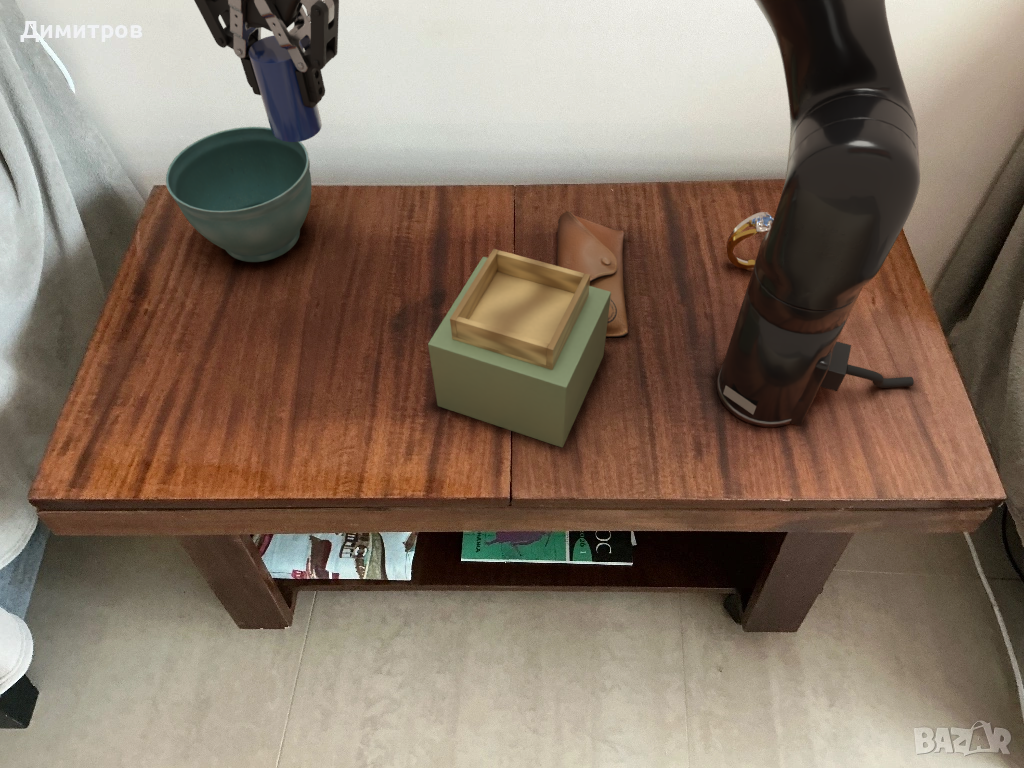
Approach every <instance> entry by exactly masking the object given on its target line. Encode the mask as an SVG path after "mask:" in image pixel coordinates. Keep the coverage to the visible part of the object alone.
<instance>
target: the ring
mask: <svg viewBox="0 0 1024 768" xmlns="http://www.w3.org/2000/svg"><path fill="white" fill-rule="evenodd" d="M773 219H774V217H773V215H771V214H770V213H769V212H767V211H760V212H757V213H754V214H752V215H750V216H749V217H747V218H746V219H743V220H742V221H741V222H740V223H738V225H737V226H735V228H734V229H733V230H732V231H731V233H730V235H728V238H727V241H726V255H727V258H728V260H729V262H730V264H732V265H734V266H736V267H737V268H740V269H743V270H747V271H748V272H752V271H753V268H754V265H755V262H756V259H748V260H744V259H741V258H740V257H739V258H738V257H737V256H736V255H735V253H734V249H735V248H736V246H737V245H738V244H740V243H741V242H742V241H744V240H746V239H748V238H750V237H752V236H755V235H757V234H759V233H763V234H764V233H767V232H768V231H769V230H770V228H771V225H772V222H773ZM747 227H749V228H751V229H747V230H745V229H746V228H747ZM752 227H754V228H752Z"/></svg>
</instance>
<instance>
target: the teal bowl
mask: <svg viewBox="0 0 1024 768" xmlns="http://www.w3.org/2000/svg"><path fill="white" fill-rule="evenodd" d="M310 162H311V161H310V157H309V152H308V150H307V148H306V146H305V145H304V143H303V142H302V141H300V142H285V141H281V140H279V139H277V138H276V137H275V136H274V135H273V134H272V131H271V127H265V126H241V127H233V128H229V129H224V130H220V131H217V132H214V133H211V134H209V135H206V136H204V137H202V138H200V139H197V140H196V141H194V142H192V143H190V144H189V145H187V146H186V147H185V148H184V149H182V150H181V151H180V152H179V153H178V154H177V155H175V157H174V158H173V159H172V161H171V163H170V164H169V166H168V169H167V171H166V175H165V185H166V189H167V190H168V192H169V195H170V196H171V197H172V199H173V200H174V202H175V203H176V204H177V206H178V207H179V209H180V211H181V213H182V214H183V216H184V218H185V219H186V220H187V221H188V223H189V224H190V225H191V226H192V227H193V228H194V229H195V230H196V231H197V232H198V233H199V234H200V235H201V236H203V237H204V239H206V240H208V241H209V242H210V243H212V244H213V245H215V246H217V247H219V248H220V249H223V250H225V252H226V254H228V255H229V256H231V257H232V258H234V259H236V260H238V261H242V262H246V263H260V262H267V261H270V260H271V261H272V260H274V259H277V258H278V257H281V256H283V255H284V254H286V253H287V252H289V251H291V249H292V248H293V247H294V246H295V245H296V244H297V242H298V240H299V238H300V236H301V235H300V234H301V228H302V227H303V225H304V223H305V222H306V219H307V216H308V213H309V210H310V206H311V202H312V201H311V200H312V189H313V188H312V187H313V185H312V176H311V175H312V174H311V170H310V169H311V168H310V167H311V165H310V164H311V163H310Z"/></svg>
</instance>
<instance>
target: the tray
mask: <svg viewBox="0 0 1024 768" xmlns="http://www.w3.org/2000/svg"><path fill="white" fill-rule="evenodd" d="M491 250H492V251H491V252H490V253H489V255H488V256H487V260H486V262H485V263H484V265H483V266H482V268H481V270H480V271H479V273H478V274H477V276H476V278H475V279H474V281H473V282H472V284H471V286H470V287H469V289H468V290H467V292H466V294H465V295H464V297H463V298H462V300H461V302H460V303H459V305H458V307H457V308H456V310H455V311H454V313H453V315H452V316H451V318H450V324H451V332H452V339H453V340H457V341H460V342H463V343H466V344H470V345H473V346H476V347H479V348H483V349H486V350H489V351H492V352H495V353H499V354H502V355H505V356H508V357H512V358H515V359H518V360H521V361H525V362H528V363H531V364H534V365H537V366H541V367H544V368H547V369H550V370H553V368H554V366H555V364H556V361H557V359H558V357H559V355H560V353H561V351H562V349H563V347H564V345H565V343H566V341H567V339H568V337H569V335H570V333H571V331H572V329H573V327H574V325H575V323H576V321H577V319H578V317H579V314H580V312H581V310H582V308H583V306H584V304H585V302H586V300H587V298H588V296H589V285H590V275H588V274H584V273H581V272H577V271H573V270H570V269H566V268H562V267H559V266H557V265H555V264H551V263H547V262H544V261H540V260H537V259H533V258H528V257H526V256H522V255H518V254H515V253H511V252H507V251H504V250H499V249H496V248H492V249H491Z"/></svg>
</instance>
